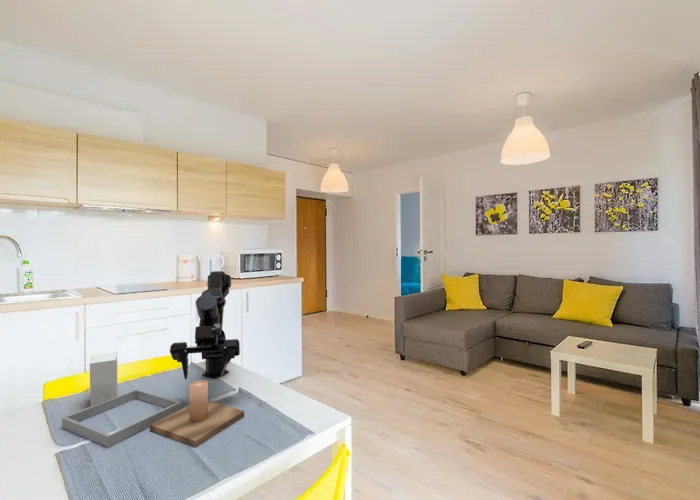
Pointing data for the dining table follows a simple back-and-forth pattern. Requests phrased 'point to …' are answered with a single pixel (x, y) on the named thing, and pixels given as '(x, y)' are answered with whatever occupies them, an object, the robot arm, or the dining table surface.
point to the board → (197, 424)
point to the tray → (108, 440)
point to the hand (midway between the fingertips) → (203, 377)
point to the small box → (103, 378)
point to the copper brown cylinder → (198, 401)
